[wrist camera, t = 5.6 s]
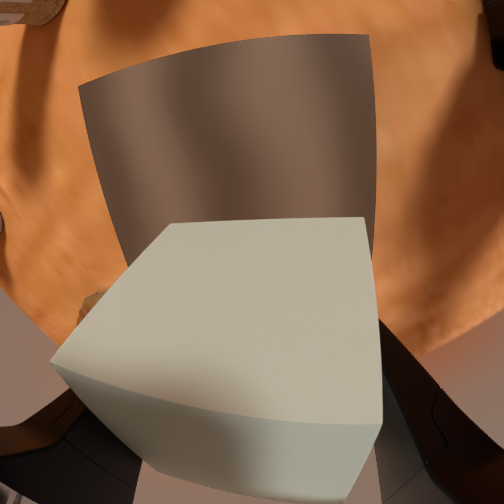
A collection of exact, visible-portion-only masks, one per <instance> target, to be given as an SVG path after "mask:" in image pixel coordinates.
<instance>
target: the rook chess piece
mask: <svg viewBox="0 0 504 504" xmlns="http://www.w3.org/2000/svg"><path fill="white" fill-rule="evenodd" d="M2 223H3V222H2V216H1V213H0V233H1V230H2Z"/></svg>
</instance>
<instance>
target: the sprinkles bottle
mask: <svg viewBox="0 0 504 504" xmlns="http://www.w3.org/2000/svg"><path fill="white" fill-rule="evenodd" d="M64 2H65V0H0V26H4V25H12V24H31V25H34V26H39V25H42V24H45V23H47V22H48V21H50V20H51V19H52V18H53V17H54V16H55V15H56V14H57V13H58V12H59V11H60V9H61V7H62V6H63V5H64Z"/></svg>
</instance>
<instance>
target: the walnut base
mask: <svg viewBox="0 0 504 504" xmlns="http://www.w3.org/2000/svg"><path fill="white" fill-rule="evenodd" d="M78 89H79V95H80V100H81V105H82V110H83V115H84V120H85V124H86V129H87V133H88V138H89V142H90V146H91V150H92V154H93V158H94V162H95V166H96V169H97V173H98V177H99V180H100V184H101V187H102V191H103V194H104V197H105V201H106V204H107V207H108V210H109V213H110V216H111V219H112V223H113V226H114V228H115V231H116V234H117V237H118V240H119V243H120V246H121V249H122V251H123V254H124V257H125V260H126V262H127V265H128V267H129V266H130V265H131V264H132V263H133V262H134V261H135V260H136V259H137V258H138V257H139V256H140V255H141V253H142V252H143V251H144V250H145V249H146V248H147V247H148V246H149V245H150V244H151V243H152V242H153V241H154V240H155V239H156V238H157V237H158V236H159V235H160V234H161V233H162V232H163V231H164V230H165V228H166V227H167V226H168V225H169V224H173V223H191V222H210V221H232V220H257V219H288V218H331V217H364V220H365V225H366V231H367V237H368V243H369V249H370V255H371V261H372V250H373V238H374V223H375V204H376V114H375V95H374V82H373V70H372V60H371V51H370V42H369V35H359V34H307V35H289V36H276V37H266V38H257V39H249V40H242V41H235V42H229V43H223V44H217V45H212V46H207V47H202V48H197V49H193V50H188V51H184V52H180V53H176V54H172V55H168V56H164V57H161V58H157V59H153V60H150V61H147V62H143V63H140V64H137V65H134V66H131V67H128V68H125V69H122V70H119V71H116V72H113V73H111V74H108V75H105V76H103V77H100V78H97V79H95V80H92V81H90V82H87V83H85V84H83V85H80V86H78Z"/></svg>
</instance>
